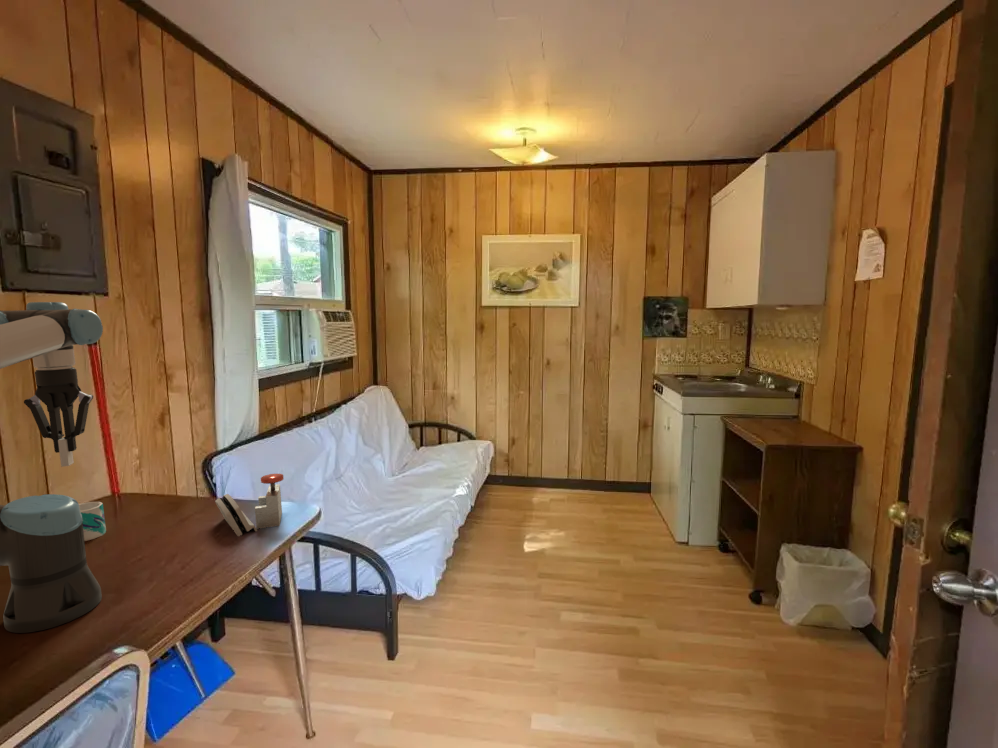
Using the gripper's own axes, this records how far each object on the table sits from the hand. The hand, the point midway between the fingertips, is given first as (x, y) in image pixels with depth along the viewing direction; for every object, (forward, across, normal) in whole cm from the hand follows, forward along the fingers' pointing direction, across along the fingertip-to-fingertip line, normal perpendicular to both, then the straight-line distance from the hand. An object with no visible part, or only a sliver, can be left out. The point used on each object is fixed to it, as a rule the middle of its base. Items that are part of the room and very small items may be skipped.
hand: (67, 464), depth 124 cm
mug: (+25, +5, -19) cm, 32 cm away
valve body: (+24, -42, -9) cm, 50 cm away
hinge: (+25, -34, -9) cm, 43 cm away
